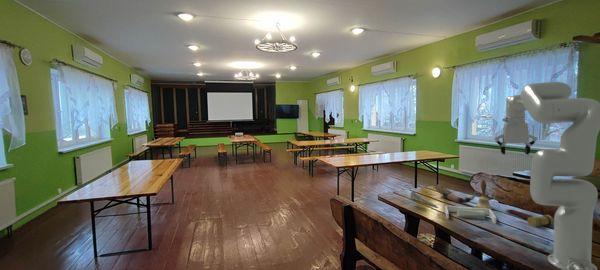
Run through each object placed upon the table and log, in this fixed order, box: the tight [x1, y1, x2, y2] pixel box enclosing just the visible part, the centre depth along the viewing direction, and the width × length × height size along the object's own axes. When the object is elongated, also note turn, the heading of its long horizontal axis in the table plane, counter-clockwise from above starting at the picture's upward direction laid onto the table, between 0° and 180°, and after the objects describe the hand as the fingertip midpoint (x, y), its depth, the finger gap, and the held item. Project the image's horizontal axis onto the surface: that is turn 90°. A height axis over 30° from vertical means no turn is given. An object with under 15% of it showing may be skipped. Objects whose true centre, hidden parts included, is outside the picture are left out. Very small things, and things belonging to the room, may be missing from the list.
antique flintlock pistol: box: [434, 182, 479, 204], centre depth 168 cm, size 6×30×10 cm, turn 18°
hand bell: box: [475, 179, 493, 210], centre depth 156 cm, size 8×8×16 cm
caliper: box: [410, 190, 439, 209], centre depth 169 cm, size 20×1×6 cm, turn 23°
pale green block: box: [456, 206, 486, 220], centre depth 145 cm, size 5×12×4 cm, turn 66°
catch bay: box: [444, 204, 497, 224], centre depth 145 cm, size 13×22×3 cm, turn 66°
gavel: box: [505, 209, 554, 228], centre depth 139 cm, size 21×5×10 cm
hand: (515, 154), depth 138 cm, fingers open, 9 cm apart
